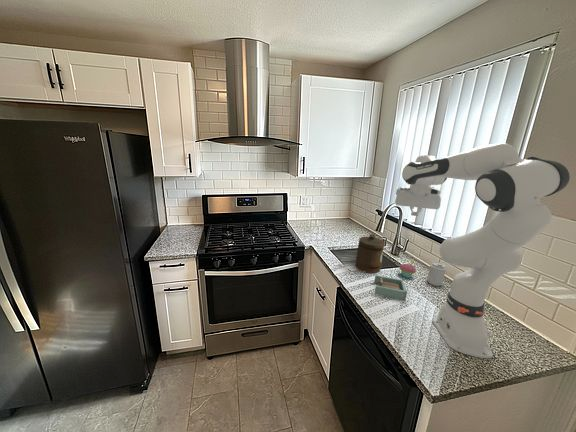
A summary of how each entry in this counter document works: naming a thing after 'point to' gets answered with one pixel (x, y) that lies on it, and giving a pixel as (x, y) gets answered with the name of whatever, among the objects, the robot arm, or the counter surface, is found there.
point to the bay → (390, 291)
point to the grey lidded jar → (436, 273)
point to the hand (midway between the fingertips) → (414, 215)
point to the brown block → (388, 284)
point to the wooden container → (369, 254)
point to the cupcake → (407, 269)
